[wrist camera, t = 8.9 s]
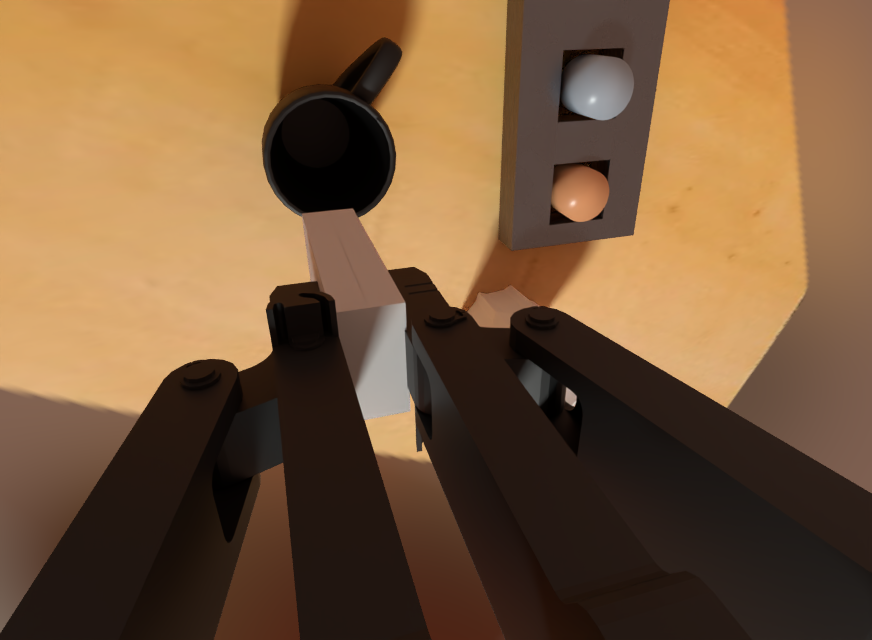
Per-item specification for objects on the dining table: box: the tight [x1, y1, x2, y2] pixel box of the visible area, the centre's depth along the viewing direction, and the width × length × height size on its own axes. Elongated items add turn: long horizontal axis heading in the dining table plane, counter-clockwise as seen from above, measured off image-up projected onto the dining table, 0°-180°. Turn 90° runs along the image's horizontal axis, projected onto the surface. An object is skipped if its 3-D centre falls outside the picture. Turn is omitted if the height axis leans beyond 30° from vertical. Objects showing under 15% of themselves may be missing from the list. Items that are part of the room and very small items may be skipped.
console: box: [499, 0, 670, 251], centre depth 46 cm, size 26×12×3 cm, turn 1°
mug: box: [262, 37, 402, 217], centre depth 39 cm, size 8×12×10 cm
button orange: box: [551, 162, 609, 222], centre depth 50 cm, size 4×4×4 cm
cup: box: [467, 285, 577, 406], centre depth 52 cm, size 10×10×10 cm
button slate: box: [560, 54, 634, 120], centre depth 44 cm, size 4×4×4 cm
